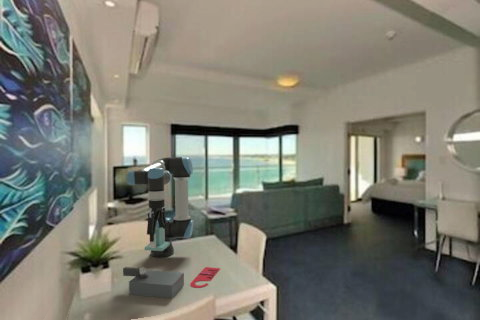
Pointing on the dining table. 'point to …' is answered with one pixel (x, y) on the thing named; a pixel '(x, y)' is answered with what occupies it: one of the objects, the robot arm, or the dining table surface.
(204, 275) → the door hanger
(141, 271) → the grey lever handle
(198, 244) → the dining table surface
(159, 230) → the cover
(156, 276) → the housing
